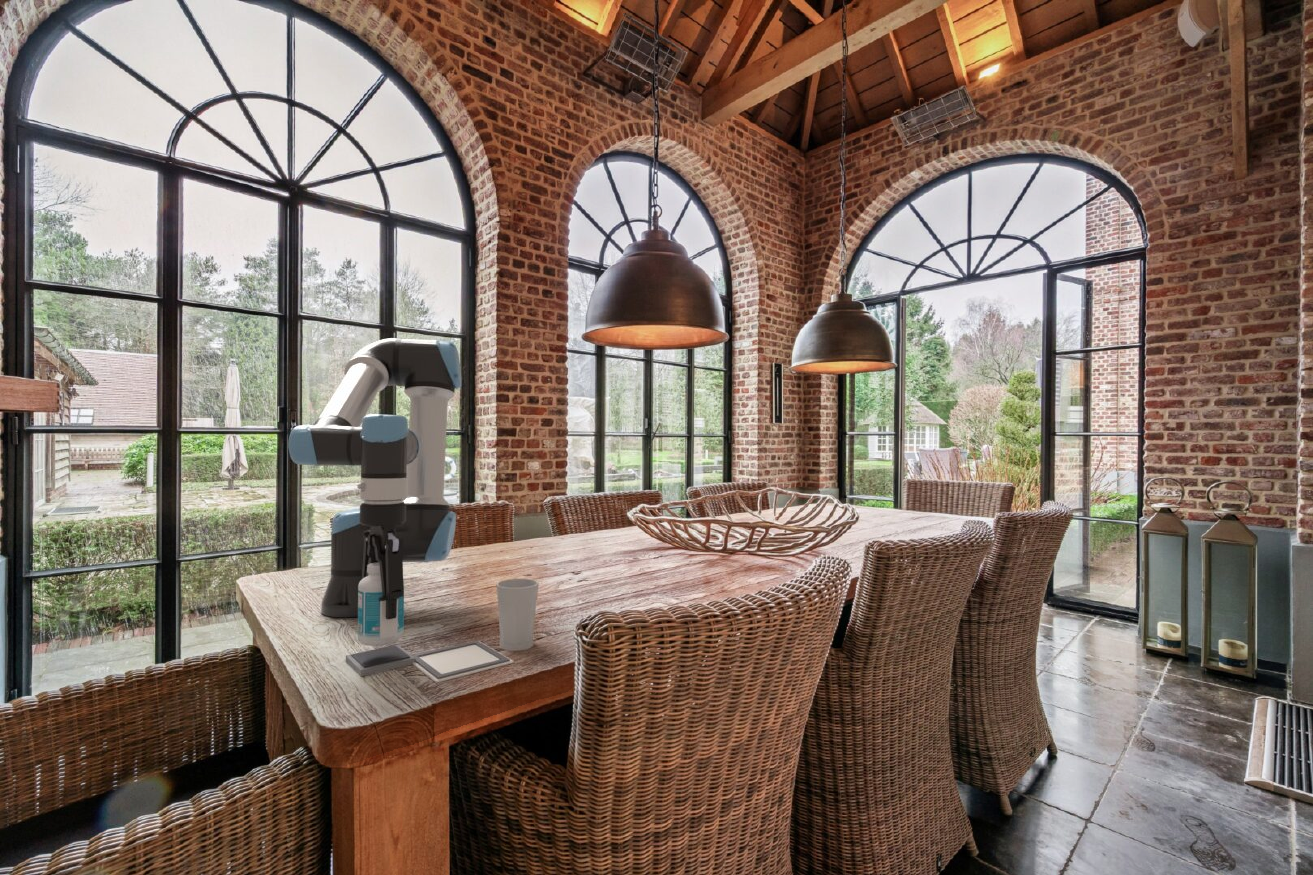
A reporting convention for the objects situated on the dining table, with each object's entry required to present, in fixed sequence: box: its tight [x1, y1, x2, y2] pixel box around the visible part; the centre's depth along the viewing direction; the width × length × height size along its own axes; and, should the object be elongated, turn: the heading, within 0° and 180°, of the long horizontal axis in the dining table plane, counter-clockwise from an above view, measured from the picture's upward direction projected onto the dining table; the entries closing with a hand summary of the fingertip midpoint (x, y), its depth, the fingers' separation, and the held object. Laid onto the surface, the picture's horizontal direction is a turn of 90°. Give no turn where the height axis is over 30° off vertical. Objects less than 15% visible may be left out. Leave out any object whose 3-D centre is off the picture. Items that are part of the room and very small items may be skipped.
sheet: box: [411, 640, 515, 684], centre depth 108 cm, size 14×14×1 cm
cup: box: [496, 578, 540, 652], centre depth 117 cm, size 8×8×12 cm
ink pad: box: [345, 644, 416, 677], centre depth 107 cm, size 9×9×1 cm
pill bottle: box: [357, 562, 405, 647], centre depth 107 cm, size 8×7×14 cm
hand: (380, 630), depth 107 cm, fingers closed on pill bottle, 7 cm apart
